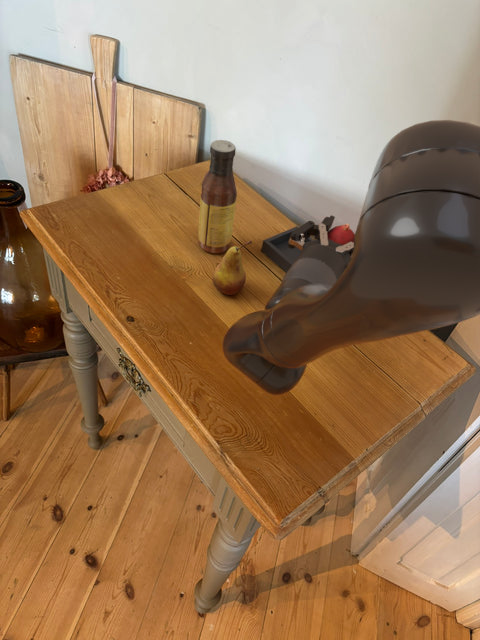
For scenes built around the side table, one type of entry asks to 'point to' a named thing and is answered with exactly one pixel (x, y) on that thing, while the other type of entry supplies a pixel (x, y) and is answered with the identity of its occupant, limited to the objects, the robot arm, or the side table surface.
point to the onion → (341, 234)
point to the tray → (282, 249)
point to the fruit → (230, 272)
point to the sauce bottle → (218, 199)
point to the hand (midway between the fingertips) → (347, 227)
